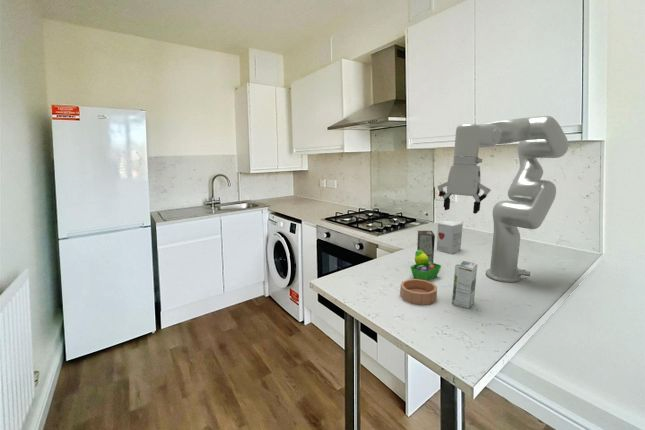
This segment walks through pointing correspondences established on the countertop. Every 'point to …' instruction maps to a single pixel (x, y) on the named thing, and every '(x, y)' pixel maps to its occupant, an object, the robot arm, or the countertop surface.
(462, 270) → the syrup box
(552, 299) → the countertop surface
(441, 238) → the supplement box
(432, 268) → the fruit basket
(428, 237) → the coffee box
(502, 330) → the countertop surface
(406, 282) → the bowl
